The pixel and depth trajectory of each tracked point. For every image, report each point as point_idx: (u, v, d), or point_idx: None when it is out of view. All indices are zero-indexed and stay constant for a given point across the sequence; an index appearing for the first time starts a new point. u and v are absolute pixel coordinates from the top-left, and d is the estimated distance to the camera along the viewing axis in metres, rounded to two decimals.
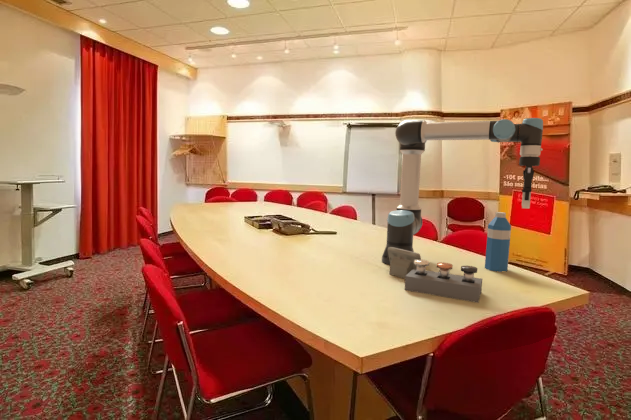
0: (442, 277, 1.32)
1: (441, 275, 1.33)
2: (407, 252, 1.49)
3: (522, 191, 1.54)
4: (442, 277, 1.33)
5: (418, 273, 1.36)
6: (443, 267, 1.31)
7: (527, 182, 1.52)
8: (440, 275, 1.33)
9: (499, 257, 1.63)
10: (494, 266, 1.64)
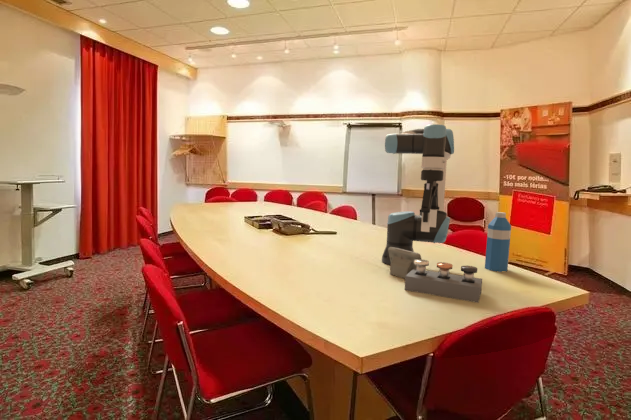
0: (442, 277, 1.32)
1: (441, 275, 1.33)
2: (407, 252, 1.49)
3: (420, 211, 1.29)
4: (442, 277, 1.33)
5: (418, 273, 1.36)
6: (443, 267, 1.31)
7: (425, 201, 1.28)
8: (440, 275, 1.33)
9: (499, 257, 1.63)
10: (494, 266, 1.64)
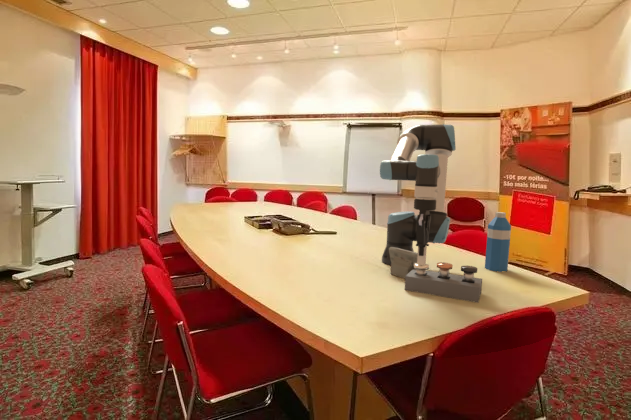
0: (442, 277, 1.32)
1: (441, 275, 1.33)
2: (408, 252, 1.49)
3: None
4: (442, 277, 1.33)
5: None
6: (443, 267, 1.31)
7: (419, 237, 1.32)
8: (440, 275, 1.33)
9: (499, 257, 1.63)
10: (494, 266, 1.64)
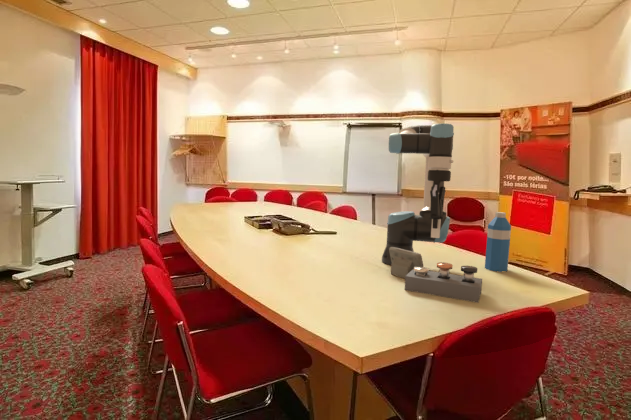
0: (442, 277, 1.32)
1: (441, 275, 1.33)
2: (408, 252, 1.49)
3: (430, 218, 1.32)
4: (442, 277, 1.33)
5: None
6: (443, 267, 1.31)
7: (433, 208, 1.29)
8: (440, 275, 1.33)
9: (499, 257, 1.63)
10: (494, 266, 1.64)
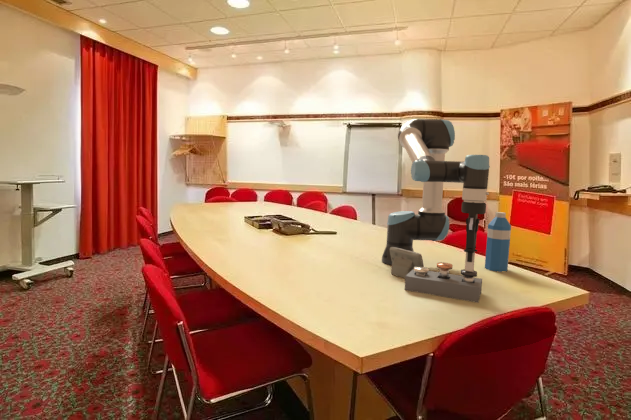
0: (442, 277, 1.32)
1: (441, 275, 1.33)
2: (409, 252, 1.49)
3: (464, 251, 1.28)
4: (442, 277, 1.33)
5: None
6: (443, 267, 1.31)
7: (469, 242, 1.25)
8: (440, 275, 1.33)
9: (499, 257, 1.63)
10: (494, 266, 1.64)
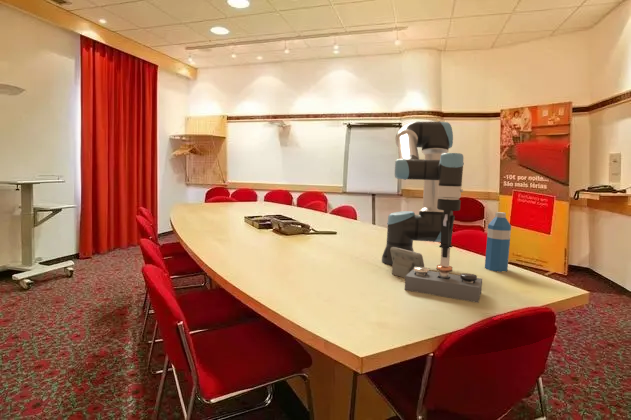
0: None
1: (441, 277, 1.33)
2: (409, 252, 1.49)
3: None
4: None
5: None
6: (443, 269, 1.31)
7: (443, 238, 1.28)
8: (440, 277, 1.33)
9: (499, 257, 1.63)
10: (494, 266, 1.64)
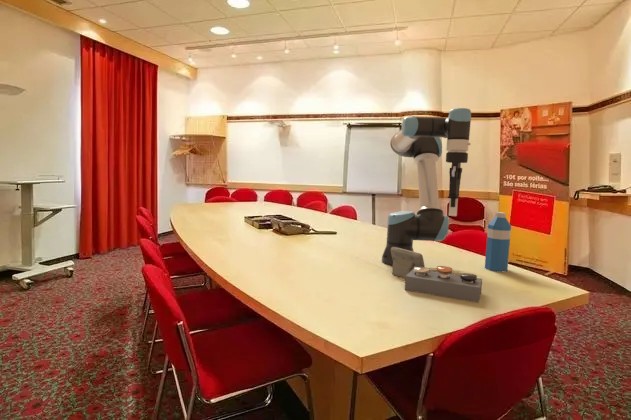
0: None
1: None
2: (409, 252, 1.49)
3: (448, 197, 1.42)
4: None
5: None
6: (443, 271, 1.31)
7: (452, 188, 1.38)
8: None
9: (499, 257, 1.63)
10: (494, 266, 1.64)
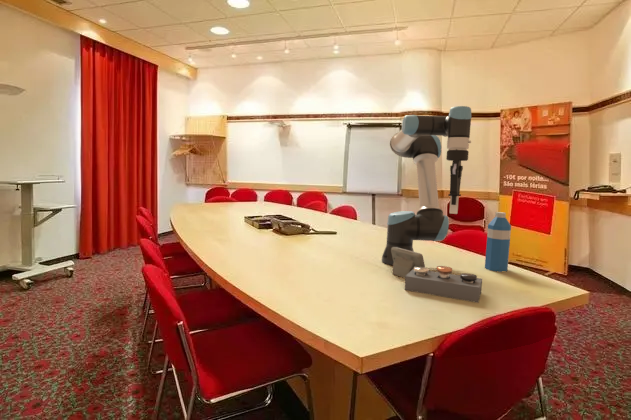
0: None
1: None
2: (410, 252, 1.49)
3: (449, 195, 1.42)
4: None
5: None
6: (443, 271, 1.31)
7: (452, 186, 1.38)
8: None
9: (499, 257, 1.63)
10: (494, 266, 1.64)
